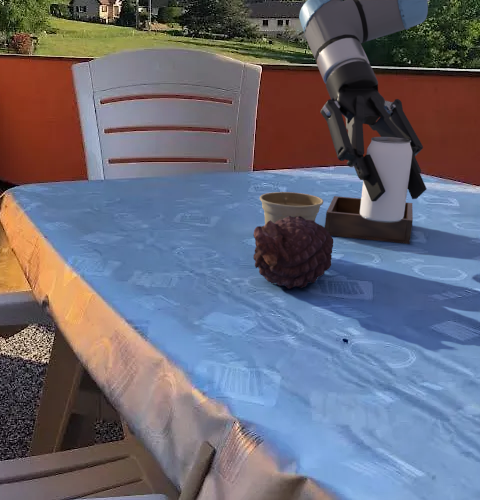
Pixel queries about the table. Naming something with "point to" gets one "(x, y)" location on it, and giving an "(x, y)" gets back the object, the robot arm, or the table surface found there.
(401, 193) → the can
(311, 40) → the robot arm
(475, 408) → the table surface
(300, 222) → the pine cone
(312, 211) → the flower pot
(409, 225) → the wooden box
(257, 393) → the table surface
